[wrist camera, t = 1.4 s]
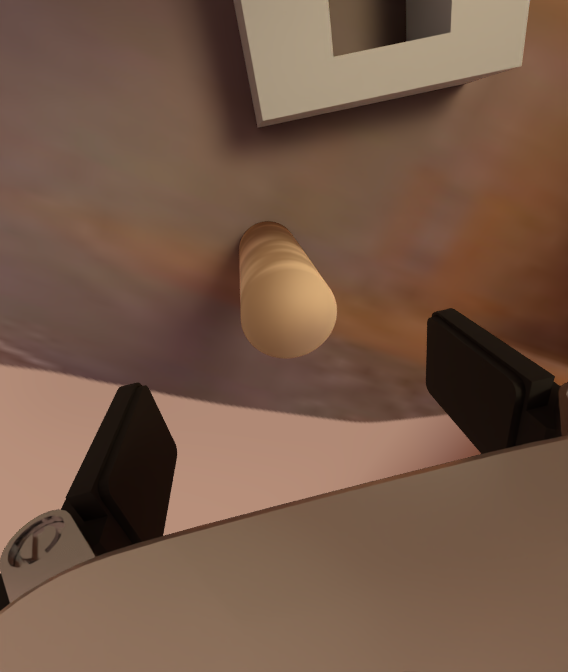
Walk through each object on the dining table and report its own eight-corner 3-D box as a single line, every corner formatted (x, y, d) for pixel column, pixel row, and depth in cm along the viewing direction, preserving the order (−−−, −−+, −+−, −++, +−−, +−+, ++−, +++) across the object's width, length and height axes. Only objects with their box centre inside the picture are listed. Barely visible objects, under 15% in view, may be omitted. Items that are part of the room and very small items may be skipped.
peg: (291, 215, 25) (331, 259, 14) (300, 272, 27) (341, 347, 16) (232, 228, 25) (229, 282, 14) (246, 284, 27) (253, 367, 16)
